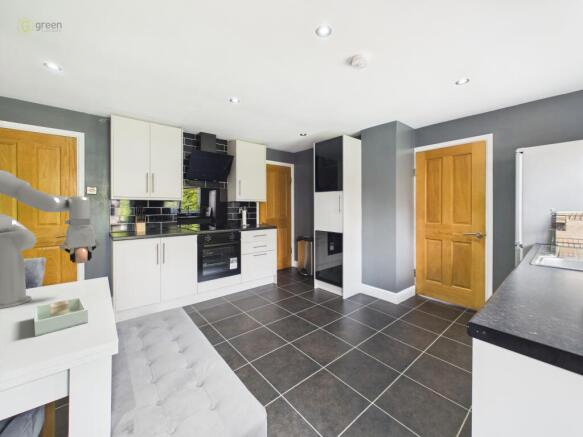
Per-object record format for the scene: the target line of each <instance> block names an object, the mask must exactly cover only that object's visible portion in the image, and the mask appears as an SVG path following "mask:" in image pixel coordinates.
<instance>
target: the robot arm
mask: <svg viewBox="0 0 583 437" xmlns="http://www.w3.org/2000/svg"><path fill="white" fill-rule="evenodd" d="M31 186H32V185H31V184H30V182H29V181H27V180H23V179H21V178H18V177H16V176H15V175H14V174H12V173H11V172H10V171H6V170H3V169H0V194H1V195H4V196H7V197H9V198H13V199H15V200H16V201H18V202H20V203H21V204H23V205H25V206H28V207H31V208H34V209H36V210H40V211H42V212H46V213H63V212H64V213H65V212H66V213H67V212H68V220H64V224H67V227H66V230H65V231H66V232H65V240H64V242H63V243H62V244H61V245H60V246H58V247H59V249H60V250H62V251H64V252H66V253H68V254H69V261H71V262H72V263H74V262H75V254H74V249H75V248H78V247H88V262H89V261H91V259H93V251H94V250H96V249H97V248H98V247H99V246H101V243H100V242H99V241H98V240H97V239H96V238H95V231H94V230H95V229H94V226H93V225H91V202H90V198H89V197H88V196H81V195H80V196H77V195H75V196H66V195H56V194H49V193H46V192H43V191H40V190H38V189H35V188H33V187H31ZM36 242H37V238H36V235H35V234H34V233H33V232H32V231H31V230H30V229H29V228H27V227H26V226H24V225H23V224H22V223H20V222H19V221H18V220H17V219H15V218H14V217H12V216H10V215H7V214H4V213H0V308H1V309H7V308H12V307H17V306H19V305H23V304H26V303H28V302H30V301H31V300H32V296H30V295H27V287H26V286H27V285H26V267H25V259H24V256H23V254H22V253H21V252H23V251H27V250H30V249H32V248H33V247H35V245H36ZM74 264H75V263H74Z"/></svg>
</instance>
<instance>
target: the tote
mask: <svg viewBox="0 0 583 437" xmlns="http://www.w3.org/2000/svg"><path fill="white" fill-rule="evenodd" d="M65 300H66V299H65ZM65 300H63V301H65ZM67 300H68V303H69V313H68V314H64V315H60V316H55V317H51V311H50V303H46V304H45V303H43V304H40V305H35V306H33V308H34V309H33V314H34V315H33V316H34V317H33V318H34V337H35V338H36V337H40V336H43V335H48V334H51V333H55V332H59V331H63V330H67V329H70V328H74V327H77V326H81V325H85V324H88V323H89V315H88V314H89V312H88V311H89V310H88V308H87V306H86V304H85V302H84V300H83V298H82V297H74V298H71V299H67ZM55 302H56V301H55ZM55 302H53V303H55ZM58 302H60V301H58Z"/></svg>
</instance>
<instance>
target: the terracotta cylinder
mask: <svg viewBox="0 0 583 437" xmlns="http://www.w3.org/2000/svg"><path fill="white" fill-rule="evenodd" d="M74 254H75V262H74V264H85V263H88V262H89V261H88V247H78V248H75V249H74Z"/></svg>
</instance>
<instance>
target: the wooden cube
mask: <svg viewBox="0 0 583 437" xmlns="http://www.w3.org/2000/svg"><path fill="white" fill-rule="evenodd" d="M68 300H69V299H65V301H64V300H61V301H60V302H59V301H55V303H54V302H51V303H50V311H51V317H55V316H60V315H64V314H68V313H69V303H68Z"/></svg>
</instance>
